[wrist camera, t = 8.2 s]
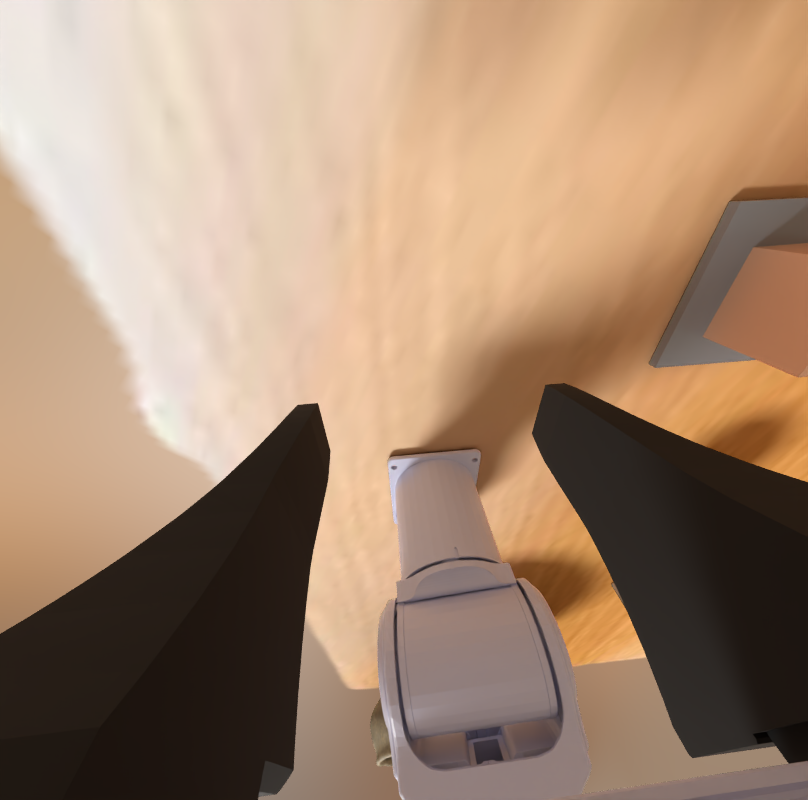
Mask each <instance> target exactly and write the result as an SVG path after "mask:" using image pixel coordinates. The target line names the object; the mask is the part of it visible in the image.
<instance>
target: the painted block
mask: <svg viewBox="0 0 808 800" xmlns="http://www.w3.org/2000/svg"><path fill="white" fill-rule="evenodd" d="M703 337H704V338H706V339H709V340H711V341H713V342H716V343H718V344H720V345H723V346H725V347H728V348H730V349H732V350H735V351H737V352H739V353H742V354H744V355H746V356H749V357H751V358H753V359H756V360H758V361H760V362H763V363H765V364H767V365H770V366H772V367H774V368H777V369H779V370H782V371H784V372H786V373H789V374H791V375H793V376H796V377H807V376H808V243H801V244H788V245H776V246H763V247H753V248H752V250H751V252H750V254H749V256H748V257H747V259H746V261H745V263H744V264H743V266H742V268H741V270H740V271H739V273H738V275H737V277H736V279H735V280H734V282H733V284H732V286H731V287H730V289H729V291H728V293H727V294H726V296H725V298H724V300H723V301H722V303H721V305H720V307H719V309H718V310H717V312H716V314H715V316H714V317H713V319H712V321H711V323H710V324H709V326H708V328H707V330H706V332H705V333H704V335H703Z"/></svg>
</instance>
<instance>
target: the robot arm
mask: <svg viewBox="0 0 808 800" xmlns="http://www.w3.org/2000/svg"><path fill="white" fill-rule="evenodd" d="M532 435H533V437H534V439H535V442H536V444H537V446H538V449H539V451H540V453H541V455H542V457H543V459H544V461H545V463H546V464H547V466H548V468H549V469H550V471H551V473H552V474H553V476H554V477H555V479H556V481H557V482H558V484H559V485H560V487H561V488H562V490H563V492H564V493H565V495H566V496H567V498H568V499H569V501H570V503H571V504H572V506H573V507H574V509H575V510H576V512H577V514H578V515H579V517H580V518H581V520H582V521H583V523H584V525H585V527H586V528H587V530H588V532H589V534H590V535H591V537H592V539H593V541H594V543H595V545H596V547H597V549H598V551H599V553H600V555H601V557H602V559H603V561H604V563H605V565H606V567H607V569H608V571H609V573H610V575H611V577H612V579H613V582H614V584H615V586H616V588H617V590H618V592H619V594H620V596H621V599H622V601H623V603H624V605H625V607H626V610H627V612H628V614H629V617H630V619H631V621H632V624H633V626H634V628H635V630H636V633H637V635H638V637H639V640H640V642H641V644H642V647H643V649H644V651H645V654H646V657H647V659H648V662H649V664H650V667H651V669H652V672H653V674H654V677H655V680H656V682H657V685H658V687H659V690H660V693H661V695H662V697H663V700H664V703H665V706H666V708H667V711H668V714H669V717H670V720H671V722H672V725H673V727H674V729H675V731H676V733H677V735H678V736H679V738H680V740H681V742H682V743H683V745H684V747H685V749H686V750H687V752H688V754H689V755H690V756H691V757H692V758H696V757H703V756H710V755H717V754H724V753H731V752H738V751H745V750H752V749H759V748H766V747H773V746H777V748H778V749H779V751H780V752H781V753H782V754H783V756H784V758H785V759H786V760H787V762H788V763H789V764H784V765H777V766H770V767H763V768H756V769H749V770H743V771H736V772H730V773H722V774H715V775H709V776H702V777H695V778H688V779H682V780H675V781H668V782H661V783H654V784H647V785H641V786H634V787H627V788H620V789H613V790H607V791H600V792H593V793H586V794H582V792H583V789H584V787H585V785H586V783H587V781H588V778H589V776H590V773H591V767H592V765H591V762H590V758H589V755H588V748H589V744H588V740H587V737H586V733H585V730H584V726H583V722H582V718H581V714H580V710H579V706H578V701H577V688H576V681H575V676H574V672H573V668H572V664H571V661H570V657H569V654H568V651H567V648H566V645H565V642H564V640H563V637H562V634H561V632H560V629H559V627H558V624H557V622H556V620H555V618H554V615H553V613H552V611H551V609H550V607H549V605H548V603H547V602H546V600H545V598H544V597H543V595H542V594H541V592H540V591H539V590H538V589H537V588H536V587H534V586H533V585H532V584H531V583H530V582H529V581H528V580H526V579H525V578H516V579H515V577H514V574H513V571H512V568H511V566H510V563H502V560H501V557H500V554H499V551H498V549H497V546H496V543H495V540H494V537H493V534H492V531H491V529H490V526H489V523H488V520H487V517H486V514H485V511H484V509H483V506H482V503H481V500H480V497H479V494H478V491H477V489H476V484H477V477H478V471H479V465H480V458H481V453H480V451H479V450H478V449H470V450H459V451H448V452H437V453H426V454H415V455H404V456H393V457H390V458H389V459H388V470H389V479H390V489H391V499H392V508H393V518H394V523H395V524H397V525H398V539H399V554H400V568H401V581H397V598H396V599H391V600H389V601H388V602H387V604H386V607H385V608H384V610H383V612H382V613H381V616H380V620H379V628H378V676H379V688H380V697H381V705H382V711H383V716H384V720H385V724H386V726H387V728H388V734H389V740H390V747H391V755H392V764H393V773H394V776H395V778H396V779H397V781H398V785H399V795H400V797H401V798H402V800H808V482H805V481H802V480H799V479H796V478H793V477H789V476H786V475H783V474H780V473H777V472H774V471H771V470H768V469H765V468H762V467H759V466H756V465H753V464H751V463H748V462H745V461H742V460H739V459H737V458H734V457H731V456H729V455H726V454H724V453H721V452H718V451H716V450H713V449H710V448H708V447H705V446H703V445H700V444H698V443H695V442H693V441H690V440H688V439H685V438H683V437H681V436H679V435H676V434H674V433H672V432H669V431H667V430H665V429H662V428H660V427H658V426H656V425H653V424H651V423H649V422H647V421H645V420H643V419H640V418H638V417H636V416H634V415H632V414H630V413H628V412H626V411H624V410H622V409H620V408H617V407H615V406H613V405H611V404H609V403H607V402H605V401H603V400H601V399H599V398H597V397H595V396H593V395H590V394H588V393H586V392H584V391H582V390H580V389H577V388H575V387H573V386H570V385H567V384H565V383H563V384H550V385H545V389H544V393H543V396H542V400H541V403H540V407H539V410H538V414H537V417H536V421H535V424H534V428H533V432H532ZM474 458H475V459H474ZM329 463H330V448H329V444H328V440H327V436H326V433H325V429H324V425H323V421H322V417H321V413H320V409H319V406H318V403H315V404H303V405H297V406H296V407H295V408H294V409H293V410H292V411H291V413H290V414H289V415H288V416H287V417H286V418H285V419H284V420H283V421H282V422H281V423H280V424H279V425H278V426H277V427H276V429H275V430H274V431H273V432H272V433H271V434H270V435H269V436H268V437H267V438H266V439H265V440H264V441H263V442H262V443H261V444H260V445H259V446H258V447H257V448H256V449H255V450H254V451H253V452H252V453H251V454H250V455H249V456H248V457H247V458H246V459H245V460H244V461H243V462H242V463H240V464H239V465H238V466H237V467H236V468H235V469H234V470H233V471H232V472H231V473H230V474H229V475H228V476H227V477H226V478H225V479H223V480H222V481H221V482H220V483H219V484H218V485H217V486H215V487H214V488H213V489H212V490H211V491H209V492H208V493H207V494H206V495H205V496H204V497H202V498H201V499H200V500H198V501H197V502H196V503H195V504H194V505H193V506H191V507H190V508H189V509H188V510H186V511H185V512H184V513H182V514H181V515H180V516H178V517H177V518H176V519H174V520H173V521H172V522H170V523H169V524H167V525H166V526H165V527H163V528H162V529H161V530H159V531H158V532H156V533H155V534H154V535H152V536H151V537H149V538H148V539H147V540H145V541H144V542H143V543H141V544H140V545H138V546H137V547H136V548H134V549H133V550H132V551H130V552H129V553H127V554H126V555H125V556H123V557H121V558H120V559H119V560H117V561H116V562H114V563H113V564H111V565H110V566H108V567H107V568H105V569H104V570H102V571H100V572H99V573H97V574H96V575H95V576H93V577H91V578H90V579H88V580H87V581H85V582H84V583H82V584H81V585H79V586H78V587H76V588H74V589H73V590H71V591H70V592H68V593H66V594H65V595H63V596H62V597H60V598H59V599H57V600H56V601H54V602H52V603H51V604H49V605H47V606H46V607H44V608H43V609H41V610H39V611H38V612H36V613H34V614H33V615H31V616H30V617H28V618H27V619H25V620H23V621H21V622H20V623H18V624H16V625H15V626H13V627H11V628H9V629H8V630H6V631H4V632H3V633H1V634H0V800H258V797H260V796H267V795H275V794H277V793H278V792H279V791H280V789H281V788H282V787H283V785H284V784H285V782H286V781H287V779H288V778H289V776H290V775H291V773H292V771H293V769H294V749H295V735H296V719H297V704H298V689H299V677H300V665H301V653H302V641H303V631H304V621H305V611H306V601H307V593H308V584H309V575H310V567H311V561H312V555H313V549H314V544H315V540H316V535H317V530H318V526H319V521H320V516H321V512H322V507H323V502H324V497H325V492H326V488H327V483H328V475H329Z"/></svg>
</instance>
